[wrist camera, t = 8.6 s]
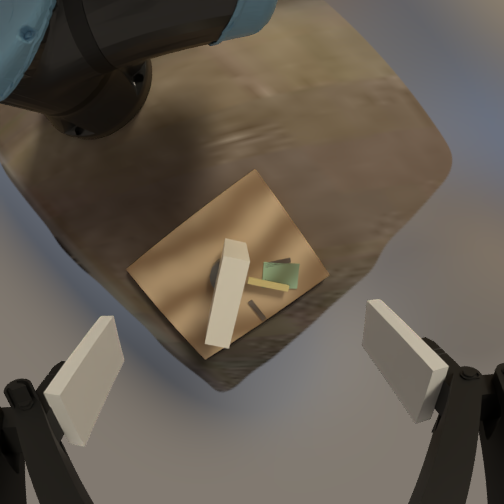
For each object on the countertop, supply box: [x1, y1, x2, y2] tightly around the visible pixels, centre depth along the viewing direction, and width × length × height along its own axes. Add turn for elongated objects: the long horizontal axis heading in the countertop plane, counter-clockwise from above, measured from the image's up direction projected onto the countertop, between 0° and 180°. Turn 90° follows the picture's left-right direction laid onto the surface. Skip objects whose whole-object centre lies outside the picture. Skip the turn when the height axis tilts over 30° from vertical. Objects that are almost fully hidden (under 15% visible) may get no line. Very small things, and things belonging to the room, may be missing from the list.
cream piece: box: [205, 238, 289, 348], centre depth 34 cm, size 10×9×10 cm
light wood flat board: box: [126, 169, 329, 360], centre depth 39 cm, size 16×20×2 cm
